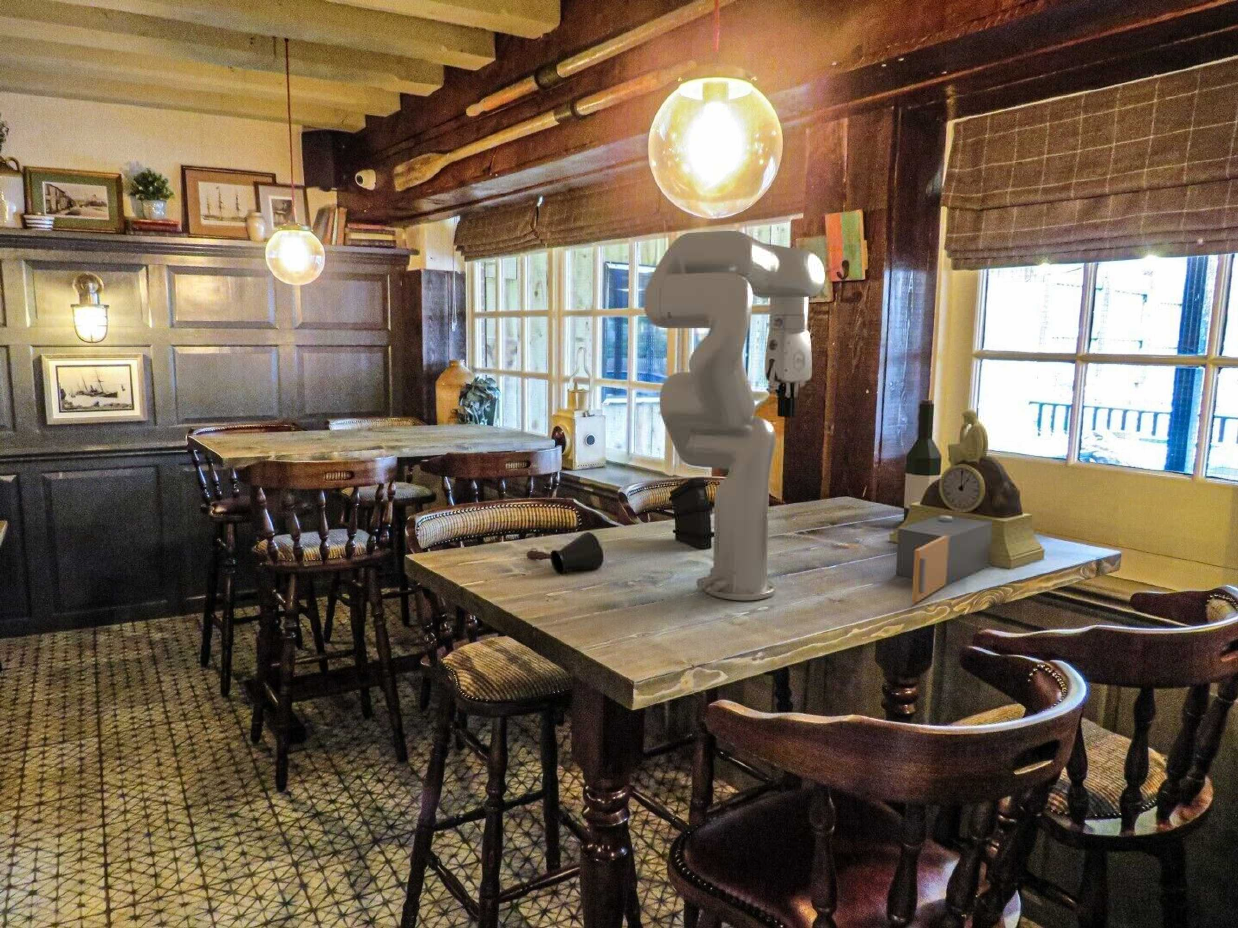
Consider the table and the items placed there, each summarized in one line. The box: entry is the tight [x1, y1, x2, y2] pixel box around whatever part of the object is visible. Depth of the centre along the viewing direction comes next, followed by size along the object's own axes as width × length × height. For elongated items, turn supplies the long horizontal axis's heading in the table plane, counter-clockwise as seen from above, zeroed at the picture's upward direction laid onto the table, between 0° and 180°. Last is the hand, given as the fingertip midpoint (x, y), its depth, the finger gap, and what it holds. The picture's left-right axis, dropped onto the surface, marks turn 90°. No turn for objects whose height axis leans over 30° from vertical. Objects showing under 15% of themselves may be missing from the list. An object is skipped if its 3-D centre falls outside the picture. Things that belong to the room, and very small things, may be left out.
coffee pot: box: [526, 531, 604, 576], centre depth 172 cm, size 8×18×8 cm
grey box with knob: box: [895, 515, 992, 586], centre depth 168 cm, size 20×10×10 cm, turn 133°
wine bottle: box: [902, 399, 943, 524], centre depth 205 cm, size 8×8×30 cm
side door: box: [911, 535, 950, 603], centre depth 151 cm, size 2×14×9 cm, turn 140°
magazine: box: [668, 476, 714, 551], centre depth 189 cm, size 4×13×15 cm, turn 27°
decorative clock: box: [888, 408, 1045, 570], centre depth 181 cm, size 28×13×30 cm, turn 37°
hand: (786, 416), depth 174 cm, fingers closed
